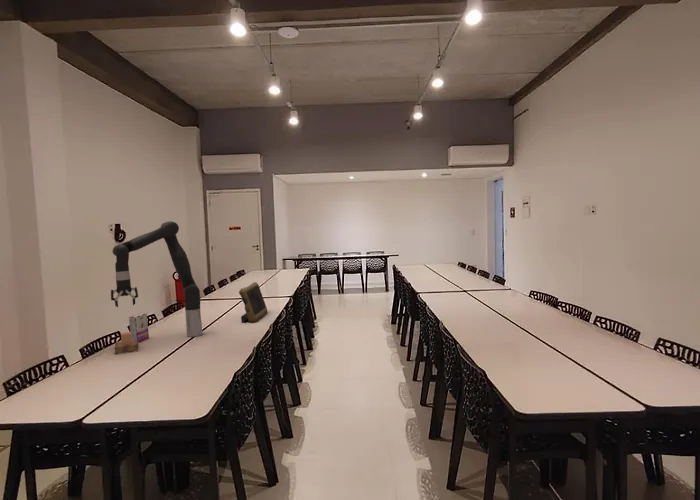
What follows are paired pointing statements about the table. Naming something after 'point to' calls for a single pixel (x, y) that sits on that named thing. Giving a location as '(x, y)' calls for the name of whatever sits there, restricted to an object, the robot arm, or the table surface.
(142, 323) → the candy bar box
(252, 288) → the tablet
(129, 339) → the terracotta block
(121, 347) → the walnut base
